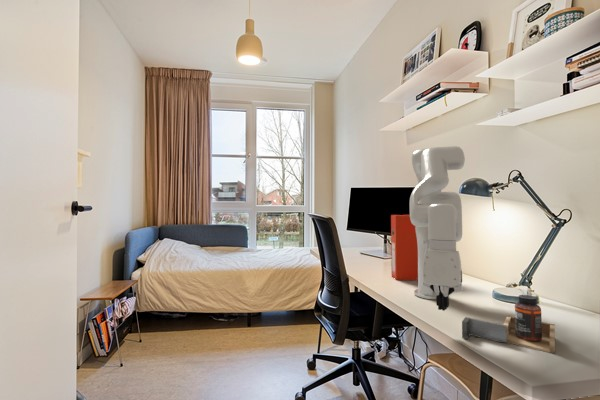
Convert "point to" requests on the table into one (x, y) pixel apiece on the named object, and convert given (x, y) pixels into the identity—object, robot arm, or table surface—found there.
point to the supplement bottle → (528, 319)
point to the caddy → (543, 345)
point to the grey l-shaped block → (484, 329)
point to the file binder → (403, 248)
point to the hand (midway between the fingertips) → (442, 308)
